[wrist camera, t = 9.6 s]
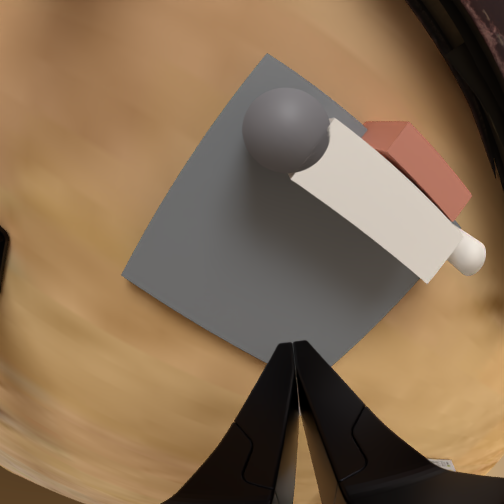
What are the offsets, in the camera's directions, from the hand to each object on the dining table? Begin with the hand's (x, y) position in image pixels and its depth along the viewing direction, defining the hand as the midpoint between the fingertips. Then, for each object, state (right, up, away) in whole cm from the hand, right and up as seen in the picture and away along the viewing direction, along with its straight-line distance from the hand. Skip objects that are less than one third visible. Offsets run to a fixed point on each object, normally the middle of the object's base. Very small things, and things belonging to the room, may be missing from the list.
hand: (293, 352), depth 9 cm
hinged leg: (+3, +6, +4) cm, 8 cm away
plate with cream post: (+1, +3, +7) cm, 8 cm away
